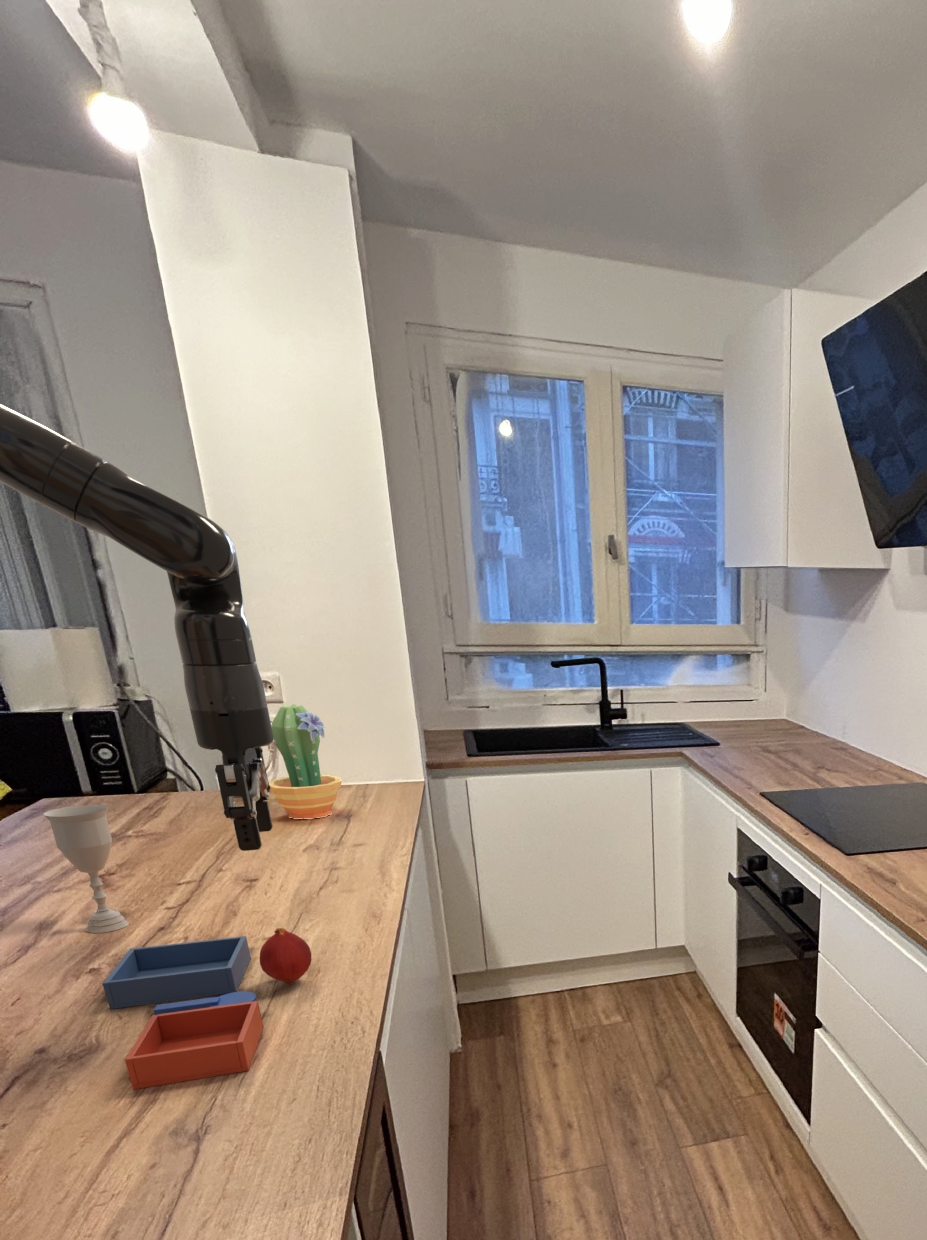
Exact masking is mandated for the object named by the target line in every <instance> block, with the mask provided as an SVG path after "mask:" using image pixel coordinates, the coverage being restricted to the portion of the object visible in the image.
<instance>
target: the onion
mask: <svg viewBox="0 0 927 1240" xmlns="http://www.w3.org/2000/svg"><path fill="white" fill-rule="evenodd" d="M273 932H274V934H273V935H271V936H269V938H268V939H267V940H265V942H264V943H263V944H262V945H261V948H260V951H259V966H260V968H261V969H262V971H263V972H264V973H265V974H266V975H267V976H269V977H270V978H271V979H274V980H277V981H280V982H282V983H283V984H285V985H293V984H295V983H296V982H297V981H298V980H299V979H300V978H302V977H303V976H304V975H305V974H306V973H307V971H308V970H309V968H310V966H311V965H312V951H311V948H310V946H309V944H308V943H307V942H306V941H305V940H304V939H303V938H301V937H300V936H299V935H297V934H295V933H293V932H290V931H288V930H286V928H284V927H281V926H279V927H277V928H276V929H275V930H274V931H273Z"/></svg>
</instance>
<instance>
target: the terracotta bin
mask: <svg viewBox="0 0 927 1240" xmlns="http://www.w3.org/2000/svg"><path fill="white" fill-rule="evenodd" d="M263 1029H264V1023H263V1018H262V1013H261V1009H260V1005H259V1001H258V1000H257V1001H253V1002H244V1003H237V1004H230V1005H222V1006H215V1007H208V1008H201V1009H193V1010H186V1011H179V1012H171V1013H164V1014H159V1015H158V1014H157V1015H154V1014H152V1015H151V1016H150V1018H149V1019H148V1021H147V1023H146V1025H145V1027H144V1028H143V1030H142V1031H141V1033H140V1034H139V1036H138V1038H137V1039H136V1041H135V1042H134V1044H133V1046H132V1048H131V1049H130V1051H129V1052H128V1054H127V1056H126V1057H125V1059H124V1063H125V1066H126V1069H127V1072H128V1073H127V1074H128V1077H129V1080H130V1084H131V1088H132V1090H139V1089H145V1088H150V1087H158V1086H163V1085H169V1084H175V1083H182V1082H187V1081H194V1080H199V1079H200V1080H201V1079H206V1078H210V1077H219V1076H224V1075H228V1074H237V1073H241V1072H248V1071H250V1067H251V1065H252V1062H253V1059H254V1057H255V1053H256V1050H257V1048H258V1044H259V1042H260V1039H261V1036H262V1032H263Z"/></svg>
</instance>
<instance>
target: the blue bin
mask: <svg viewBox="0 0 927 1240" xmlns="http://www.w3.org/2000/svg"><path fill="white" fill-rule="evenodd" d="M251 960H252V957H251V951H250V947H249V942H248V939H247V936H246V935H243V936H233V937H232V936H231V937H223V938H215V939H206V940H196V941H190V942H188V941H187V942H180V943H178V942H177V943H170V944H161V945H152V946H151V945H150V946H143V947H133V948H129V950H127V952H126V953H125V954H124V956H123V957H122V958H121V959H120V961H118V963H117V964H116V966H115V967H114V968H113V969H112V971H111V972H110V973H109V974H108V976H107V977H106V978H105V979H104V981H103V982H102V987H103V991H104V994H105V997H106V1001H107V1005H108V1008H109V1010H114V1009H115V1010H116V1009H122V1008H129V1007H130V1008H131V1007H136V1006H137V1007H138V1006H145V1005H152V1004H158V1003H159V1004H161V1003H167V1002H177V1001H182V1000H188V999H189V1000H190V999H191V1000H192V999H197V998H204V997H205V998H207V997H213V996H222V995H225V994H228V993H233V992H238V989H239V987H240V986H241V983H242V980H243V978H244V976H245V974H246V972H247V969H248V967H249V965H250V962H251Z"/></svg>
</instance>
